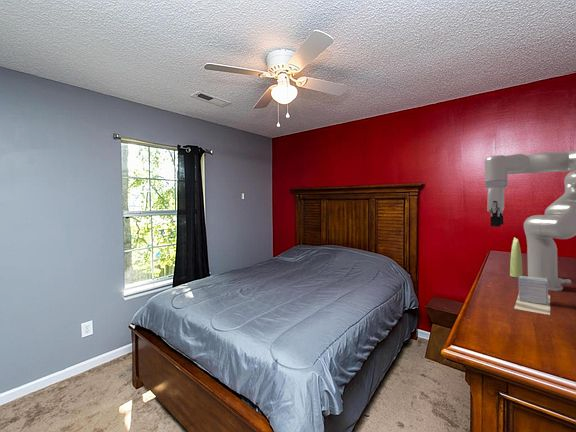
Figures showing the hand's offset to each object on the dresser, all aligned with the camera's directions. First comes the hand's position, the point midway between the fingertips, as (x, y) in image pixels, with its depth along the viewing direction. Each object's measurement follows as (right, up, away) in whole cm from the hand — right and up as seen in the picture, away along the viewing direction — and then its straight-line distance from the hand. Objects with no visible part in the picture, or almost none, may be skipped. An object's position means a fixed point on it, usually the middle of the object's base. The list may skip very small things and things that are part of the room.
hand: (497, 225), depth 116 cm
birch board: (+1, -29, -17) cm, 33 cm away
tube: (+26, -27, +21) cm, 42 cm away
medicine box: (+1, -28, -17) cm, 32 cm away
